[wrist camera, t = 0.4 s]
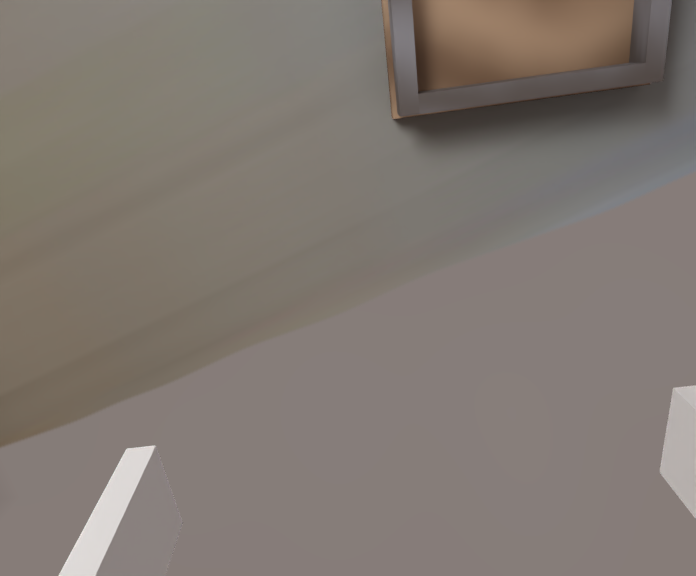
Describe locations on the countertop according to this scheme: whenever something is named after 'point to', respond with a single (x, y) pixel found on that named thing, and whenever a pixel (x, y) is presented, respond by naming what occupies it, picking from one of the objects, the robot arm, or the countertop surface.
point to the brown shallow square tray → (518, 50)
